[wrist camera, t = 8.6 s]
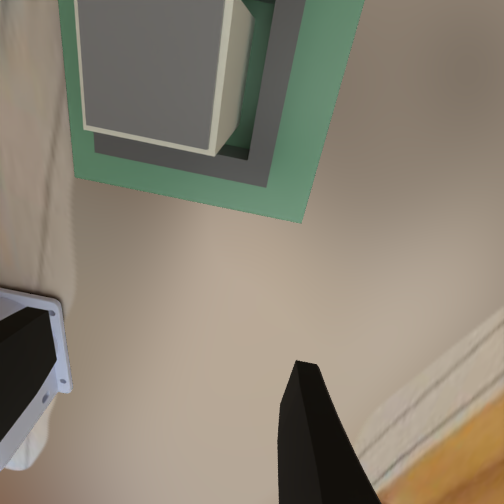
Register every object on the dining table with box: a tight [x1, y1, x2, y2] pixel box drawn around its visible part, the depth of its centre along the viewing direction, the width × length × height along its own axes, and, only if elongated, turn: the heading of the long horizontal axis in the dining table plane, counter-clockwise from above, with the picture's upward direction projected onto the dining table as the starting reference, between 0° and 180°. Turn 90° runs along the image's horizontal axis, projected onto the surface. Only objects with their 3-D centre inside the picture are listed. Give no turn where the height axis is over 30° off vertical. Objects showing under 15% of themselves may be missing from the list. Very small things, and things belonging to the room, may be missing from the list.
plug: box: [74, 0, 255, 157], centre depth 11 cm, size 4×4×6 cm
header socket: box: [58, 0, 365, 223], centre depth 14 cm, size 12×12×3 cm
